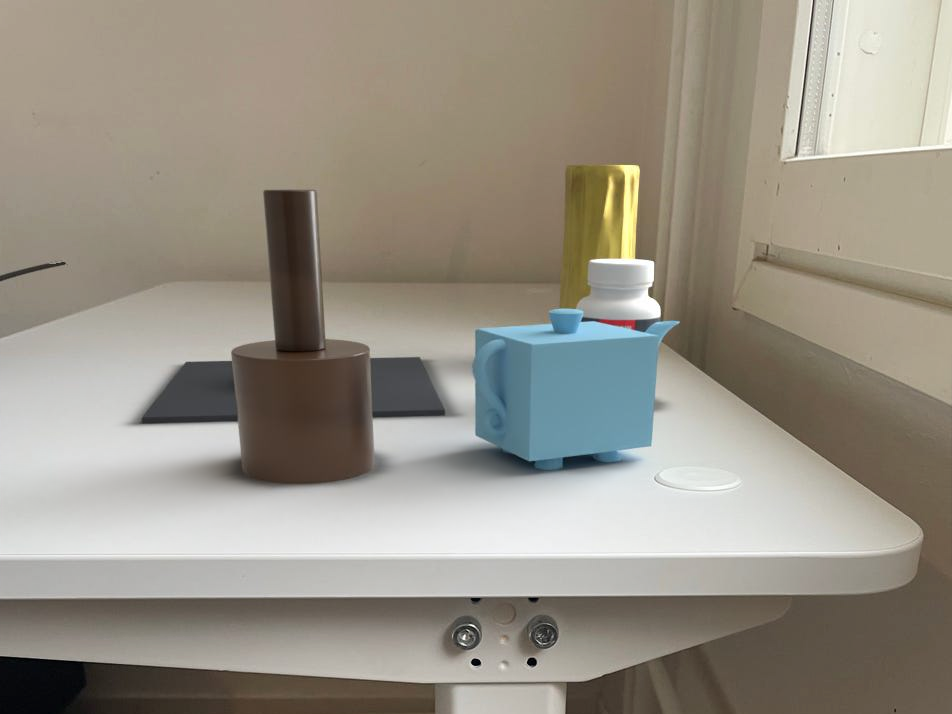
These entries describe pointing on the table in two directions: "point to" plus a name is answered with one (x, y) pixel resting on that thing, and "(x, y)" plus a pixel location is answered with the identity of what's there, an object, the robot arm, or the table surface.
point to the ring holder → (301, 367)
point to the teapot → (566, 388)
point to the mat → (213, 398)
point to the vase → (596, 222)
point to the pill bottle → (620, 294)
